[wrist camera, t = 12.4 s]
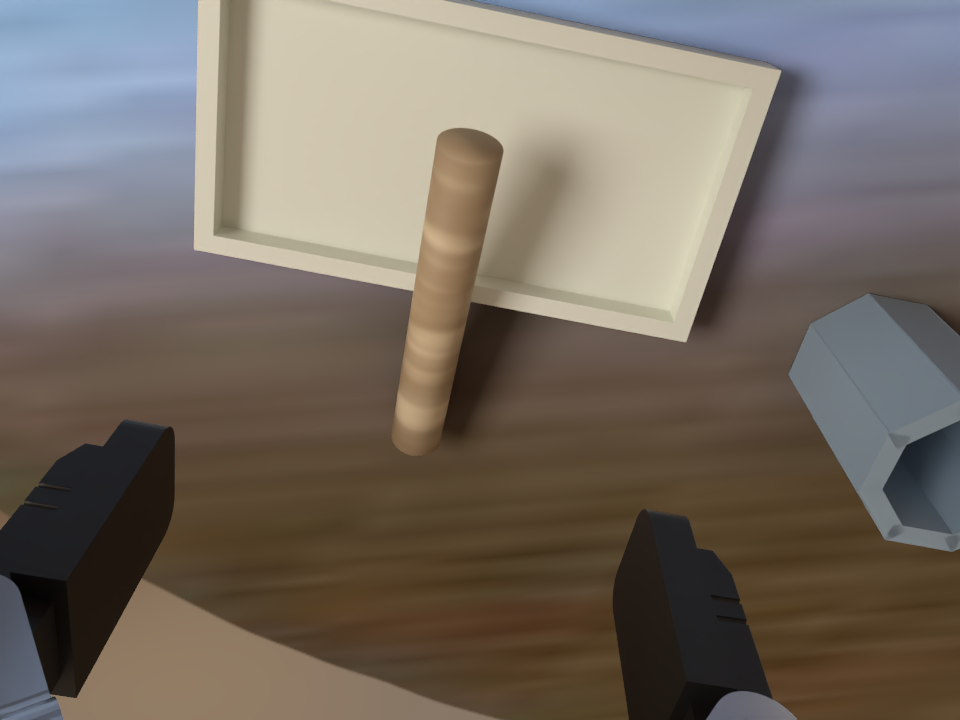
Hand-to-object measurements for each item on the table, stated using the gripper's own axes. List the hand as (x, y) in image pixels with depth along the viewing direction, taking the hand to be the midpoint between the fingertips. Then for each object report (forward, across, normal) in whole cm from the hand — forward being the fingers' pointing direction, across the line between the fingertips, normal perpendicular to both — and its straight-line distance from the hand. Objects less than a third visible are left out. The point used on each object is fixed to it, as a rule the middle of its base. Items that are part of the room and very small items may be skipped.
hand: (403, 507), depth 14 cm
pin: (+20, 0, -2) cm, 20 cm away
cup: (+23, -20, +6) cm, 31 cm away
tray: (+23, 0, 0) cm, 23 cm away
